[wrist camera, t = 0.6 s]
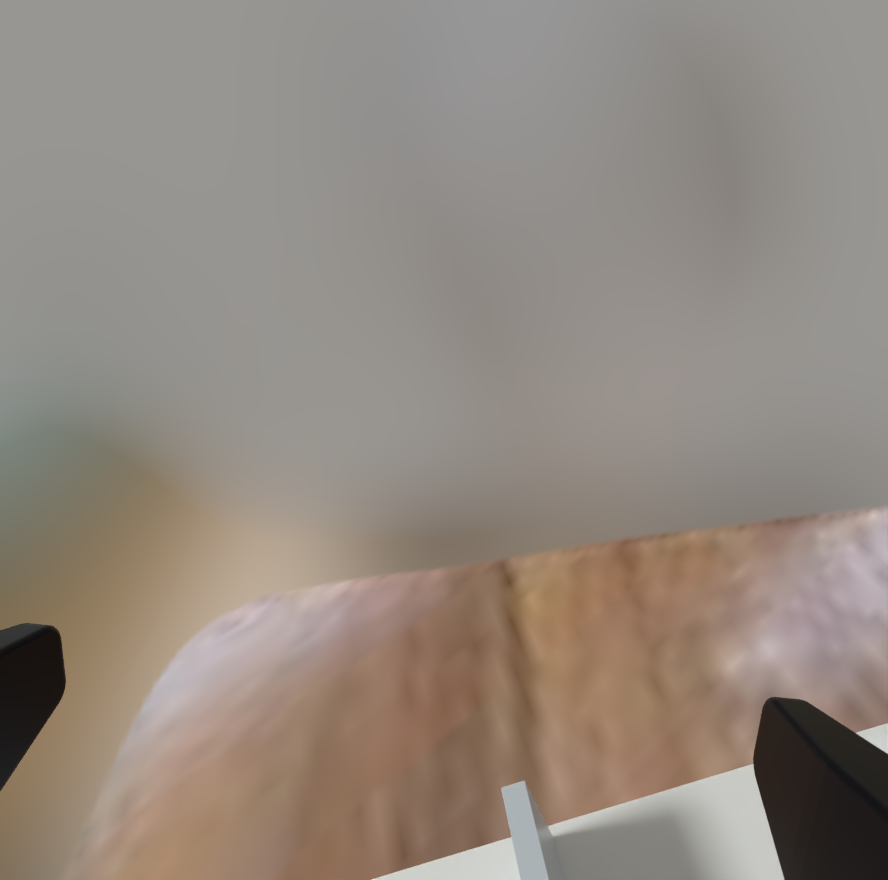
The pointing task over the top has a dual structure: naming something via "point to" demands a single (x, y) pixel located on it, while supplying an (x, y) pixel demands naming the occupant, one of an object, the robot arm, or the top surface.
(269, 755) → the top surface
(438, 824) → the top surface
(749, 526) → the top surface
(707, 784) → the white divided tray
